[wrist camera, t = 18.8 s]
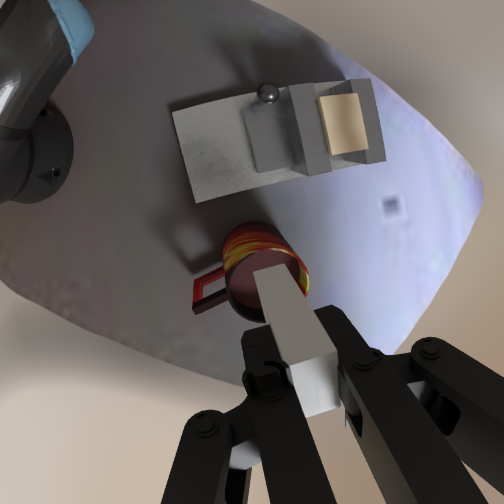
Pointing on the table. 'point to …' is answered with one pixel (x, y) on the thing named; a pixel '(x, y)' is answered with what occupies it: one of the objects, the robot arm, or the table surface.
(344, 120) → the block
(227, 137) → the vise bed
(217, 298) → the mug
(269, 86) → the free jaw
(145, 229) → the table surface
